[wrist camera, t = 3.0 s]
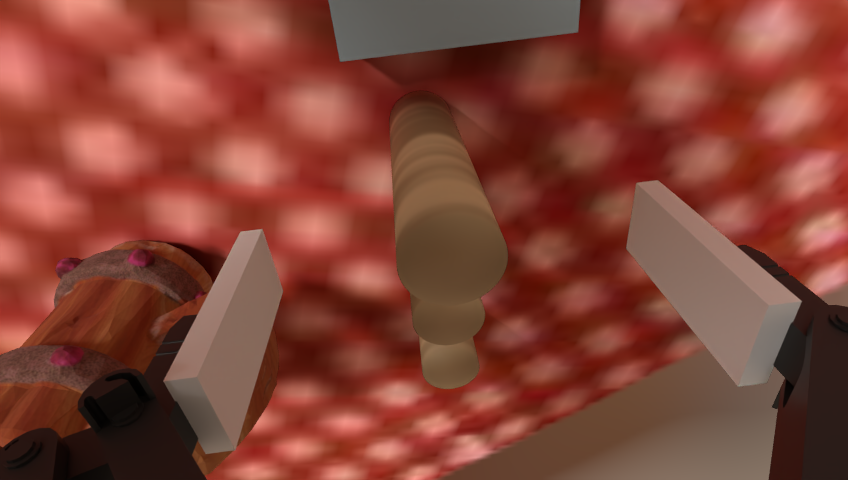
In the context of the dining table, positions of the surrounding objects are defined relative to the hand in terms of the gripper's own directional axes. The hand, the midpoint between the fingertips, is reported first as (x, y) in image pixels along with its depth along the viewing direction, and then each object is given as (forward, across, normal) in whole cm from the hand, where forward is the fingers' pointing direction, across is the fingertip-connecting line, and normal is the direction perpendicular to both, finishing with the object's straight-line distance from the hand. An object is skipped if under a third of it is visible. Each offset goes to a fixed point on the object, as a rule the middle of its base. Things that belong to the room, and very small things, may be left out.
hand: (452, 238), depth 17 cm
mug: (+12, -16, -8) cm, 22 cm away
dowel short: (+12, 0, -14) cm, 18 cm away
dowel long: (+12, 0, 0) cm, 12 cm away
